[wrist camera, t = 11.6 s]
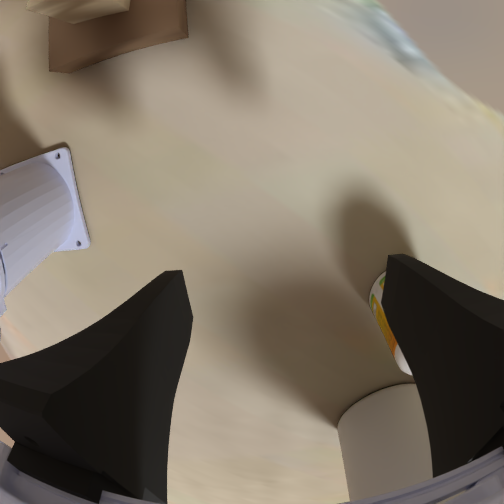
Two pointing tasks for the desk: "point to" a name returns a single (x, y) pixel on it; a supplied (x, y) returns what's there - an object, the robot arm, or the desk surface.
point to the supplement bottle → (381, 319)
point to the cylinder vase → (385, 443)
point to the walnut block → (115, 33)
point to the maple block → (77, 8)
